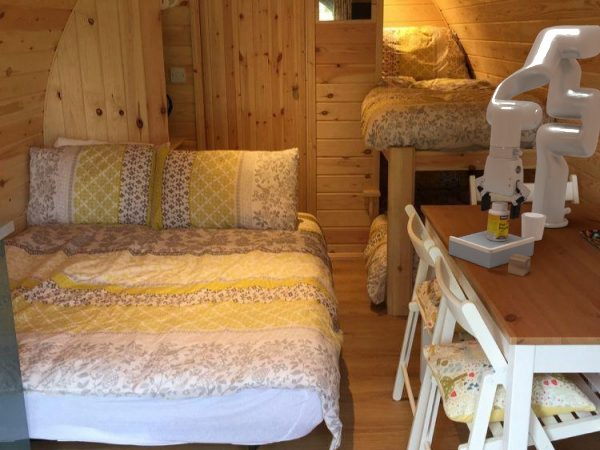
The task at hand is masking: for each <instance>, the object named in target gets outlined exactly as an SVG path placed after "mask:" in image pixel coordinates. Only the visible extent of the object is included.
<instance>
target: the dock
mask: <svg viewBox="0 0 600 450" xmlns="http://www.w3.org/2000/svg"><path fill="white" fill-rule="evenodd" d="M448 240H449V241H448V255H451V256H453V257H456V258H458V259H461V260H464V261H467V262H471V263H473V264H475V265H479V266H481V267H484V268H486V269H492V268H496V267H498V266H502V265H505V264H509V258H510V257H512V256H513V255H515V254H518V255H522V256H527V257H531V256H534V247H535V241H534V240H535V238H534V237H530V238H527V239H525V238H522V236H518V235H516V234H515V235H514V234H511V233H509V232H508V238H507V240H505V241H500V242H499V241H492V240H489V239H488V238H487V230H483V231H480V232H476V233H472V234H467V235H464V236H459V237H456V236H453V235H450V236H449V239H448Z"/></svg>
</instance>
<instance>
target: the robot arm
mask: <svg viewBox="0 0 600 450" xmlns="http://www.w3.org/2000/svg"><path fill="white" fill-rule="evenodd" d="M598 55H600V25H589V24H587V25H570V24H569V25H555V26H550V27H546V28H543V29H542V30H540V31H539V33H538V34H537V36H536V38H535V40H534V42H533V44H532V47H531V49H530V51H529V53H528V55H527V57H526V60H525V62H524V63H523V64H524V65H523V66H522V67H521V68H519V69H518V70H517V71H515V72H513V73H512V74H511V75H508V76H507V77H506V78H505V79H503V80H502V81H501V82H500V83H499V84H498V85H497V87H495V90H494V91H493V93H492V95H491V98H490V100H489V103H488V105H487V108H486V114H485V116H486V120H487V121H486V122H487V123H488V124H489V125H490V142H489V155H487V157H486V161H485V165H484V171H483V175H482V176H479V177H477V178H475V179H474V182H475V184H476V189H477V190H478V193H479V197H481V198H480V199H481V201H480V211H481V212H486V211H489V210H490V209H491V206H492V203H491V202H492V196H491V195H490V194H495V195H499V196H503V197H508V198H509V200H510V201H511V203H512V204H510V210H509V211H510V218H509V220H511V221H512V220H516V219H518V218H520V215H521V208H522V207H521V206H522V204H524V202H525V201H526V200H528V198H529V196H530V194H531V193H532V192H531V189H530V188H528V187H527V186H526V185H525V184H524V167H523V166H524V165H523V159H522V158H520V157H521V156H522V155H523V153H524V152H523V151H522V150H520V149H521V136H522V131H530V130H534V129H536V128H537V127H538V126H539V125H540V123H541V122H542V119H543V115H544V113H543V109H542V106H541V105H540V104H538V103H536V102H534V101H527V100H514V99H512V98H515V97H516V96H518V95H520V94H523V93H525V92H529V91H531V90H534V89H538V88H541V87H543V86H546V85H548V84H549V85H548V90H547V91H548V92H547V98H546V99H547V100H546V106H545V107H546V109H545V111H546V114H547V115H548V116H549V117H551V118H553V119H554V118H555V119H562V120H573V121H574V120H575V121H580V122H581V124H572V123H571V124H570V123H564V122H561V123H560V122H548V123H544V124H541V126H539V128H538V129H537V131H536V135H535V146H536V167H535V175H534V177H535V178H534V187H533V197H532V203H531V204H532V207H531V212H535V213H541V214H544V215H546V221H545V226H544V228H548V229H549V228H552V229H553V228H554V229H555V228H557V229H558V228H564V227H566V226H568V225H569V220H568V219H567V218H565V215H568V214H570V213H571V212H572V209H571V208H570V207H569V206H568V207H565V203H566V197H567V196H566V195H567V187H568V181H569V180H568V179H569V174H570V173H569V172H570V171H569V164H568V162H567V161H566V159H565V156H567V157H575V158H589V157H592V156H593V155H594V154H595V152H596V150H597V146H598V142H599V136H600V90H599V89H597V88H593V87H580V85H581V78H582V68H581V65H580V64H579V62H578V60H579V59H589V58H593V57H596V56H598ZM577 59H578V60H577Z"/></svg>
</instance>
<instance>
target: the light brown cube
mask: <svg viewBox="0 0 600 450" xmlns="http://www.w3.org/2000/svg"><path fill="white" fill-rule="evenodd" d="M531 258H532V257H531V256H528V257H527V256H522V255H518V254H515V255H513V256H512V257H510V258H509V263H507V264H508V265H507V267H508V268H507V274H512V275H517V276H520V277H524V276H526V275H527V274H528V273H529V272H530V268H531Z"/></svg>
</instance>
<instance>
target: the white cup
mask: <svg viewBox="0 0 600 450" xmlns="http://www.w3.org/2000/svg"><path fill="white" fill-rule="evenodd" d="M545 221H546V215H544V214H541V213H535V212H532V211H531V212H529V211H528V212H523V213H521V237H522V238H525V239H527V238H530V237H534V238H535V240H534V242H535V241H540V240H542V239H543V235H544V229H545V227H544V226H545Z"/></svg>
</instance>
